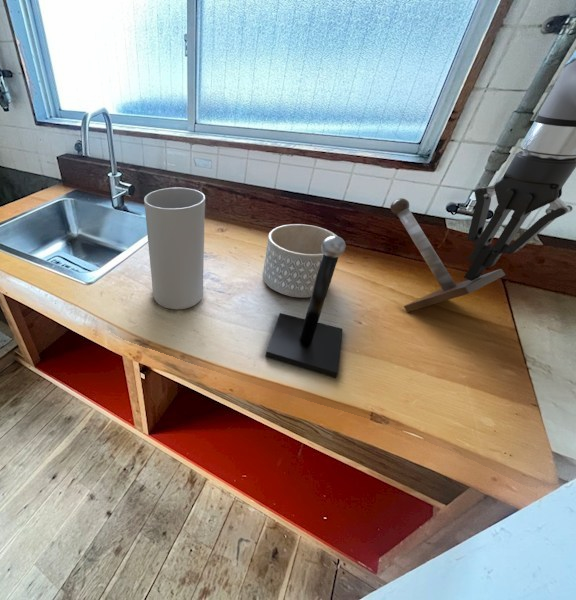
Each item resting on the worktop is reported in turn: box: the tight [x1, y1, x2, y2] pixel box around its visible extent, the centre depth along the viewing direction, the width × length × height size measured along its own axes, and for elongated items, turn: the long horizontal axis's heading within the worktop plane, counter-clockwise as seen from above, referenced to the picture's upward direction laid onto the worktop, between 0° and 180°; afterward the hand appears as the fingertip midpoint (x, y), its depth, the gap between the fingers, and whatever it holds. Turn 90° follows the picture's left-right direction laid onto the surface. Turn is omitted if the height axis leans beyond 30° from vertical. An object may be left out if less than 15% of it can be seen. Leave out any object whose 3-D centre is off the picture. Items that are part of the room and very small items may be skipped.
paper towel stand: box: [389, 197, 506, 313], centre depth 69 cm, size 25×13×13 cm
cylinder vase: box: [143, 187, 206, 310], centre depth 73 cm, size 12×12×25 cm
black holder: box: [264, 235, 347, 379], centre depth 60 cm, size 25×13×13 cm
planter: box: [262, 223, 338, 298], centre depth 80 cm, size 16×16×13 cm
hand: (471, 277), depth 65 cm, fingers closed
